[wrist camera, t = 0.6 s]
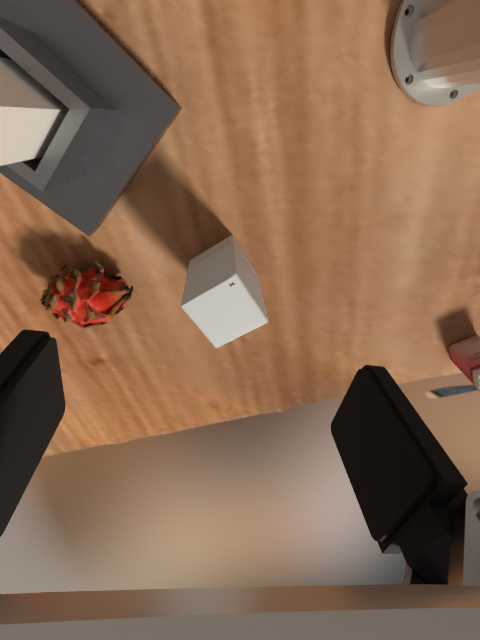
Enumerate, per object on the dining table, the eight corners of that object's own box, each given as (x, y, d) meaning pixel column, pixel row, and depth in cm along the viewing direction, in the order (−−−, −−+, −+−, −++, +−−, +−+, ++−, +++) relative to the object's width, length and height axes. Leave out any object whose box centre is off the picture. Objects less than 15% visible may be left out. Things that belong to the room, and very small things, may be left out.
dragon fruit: (53, 278, 46) (136, 267, 48) (61, 335, 46) (145, 321, 47) (19, 264, 38) (122, 250, 39) (29, 333, 37) (132, 317, 39)
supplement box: (187, 259, 44) (177, 305, 33) (233, 232, 42) (237, 271, 32) (216, 298, 47) (215, 350, 37) (258, 275, 46) (270, 322, 35)
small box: (477, 333, 54) (512, 363, 47) (479, 350, 56) (514, 381, 49) (447, 345, 55) (478, 376, 48) (450, 361, 57) (481, 393, 51)
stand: (14, -64, 27) (-78, -146, 19) (181, 108, 34) (169, 105, 26) (-55, 117, 34) (-147, 117, 25) (97, 229, 41) (65, 257, 32)
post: (38, 65, 29) (-98, 26, 17) (88, 111, 32) (1, 106, 19) (15, 113, 31) (-123, 110, 19) (64, 153, 33) (-30, 174, 21)
